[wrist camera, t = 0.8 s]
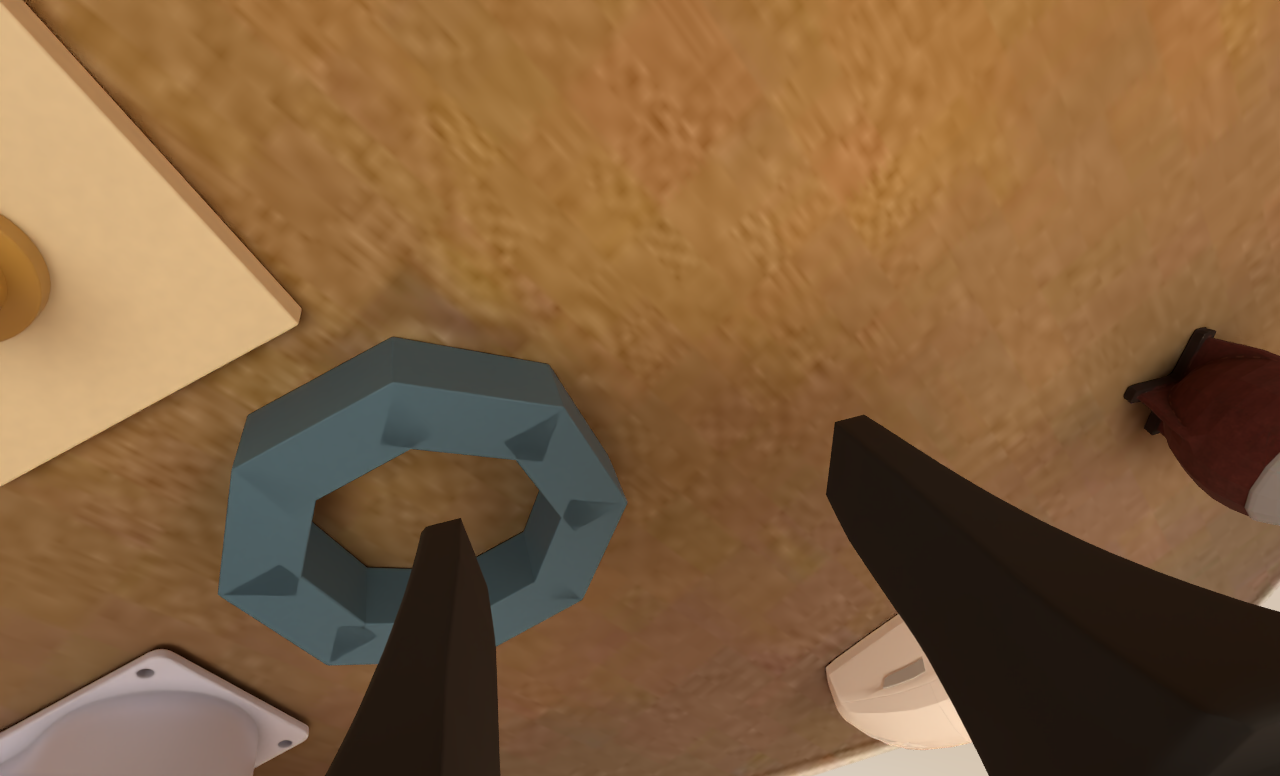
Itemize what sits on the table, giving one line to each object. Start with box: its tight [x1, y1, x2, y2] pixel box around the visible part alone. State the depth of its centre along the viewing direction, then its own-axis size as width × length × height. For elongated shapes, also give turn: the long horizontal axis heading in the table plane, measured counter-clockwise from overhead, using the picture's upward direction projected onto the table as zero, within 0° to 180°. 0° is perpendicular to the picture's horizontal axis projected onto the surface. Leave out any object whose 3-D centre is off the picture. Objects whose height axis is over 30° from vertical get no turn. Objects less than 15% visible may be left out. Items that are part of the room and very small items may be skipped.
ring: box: [218, 337, 627, 665], centre depth 23 cm, size 12×12×3 cm
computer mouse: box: [826, 614, 972, 750], centre depth 38 cm, size 6×13×6 cm, turn 127°
